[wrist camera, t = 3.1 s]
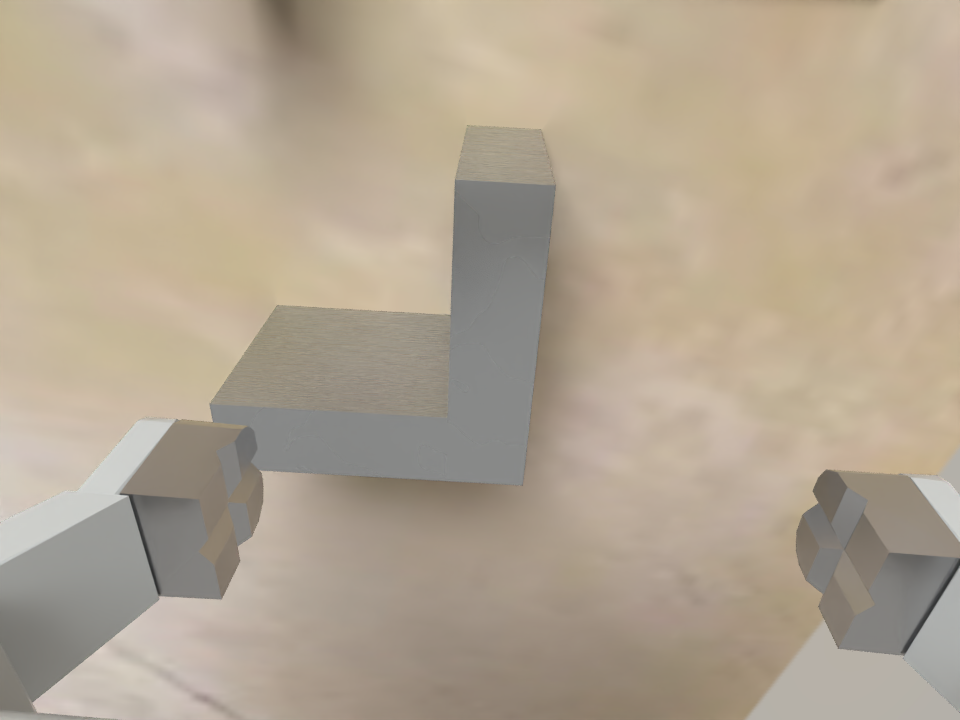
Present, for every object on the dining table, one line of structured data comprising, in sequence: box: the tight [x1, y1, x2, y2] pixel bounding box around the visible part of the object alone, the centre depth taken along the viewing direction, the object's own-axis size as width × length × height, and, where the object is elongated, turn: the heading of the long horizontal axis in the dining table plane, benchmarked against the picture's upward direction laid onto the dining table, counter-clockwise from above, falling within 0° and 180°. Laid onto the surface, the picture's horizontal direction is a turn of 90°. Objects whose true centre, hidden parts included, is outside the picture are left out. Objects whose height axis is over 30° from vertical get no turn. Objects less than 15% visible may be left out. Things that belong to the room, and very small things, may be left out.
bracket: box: [210, 125, 556, 486], centre depth 16 cm, size 7×7×5 cm
